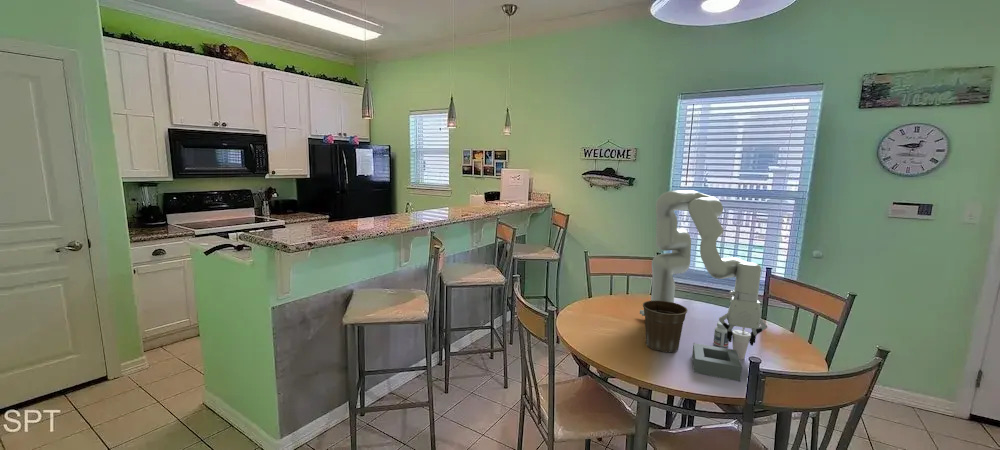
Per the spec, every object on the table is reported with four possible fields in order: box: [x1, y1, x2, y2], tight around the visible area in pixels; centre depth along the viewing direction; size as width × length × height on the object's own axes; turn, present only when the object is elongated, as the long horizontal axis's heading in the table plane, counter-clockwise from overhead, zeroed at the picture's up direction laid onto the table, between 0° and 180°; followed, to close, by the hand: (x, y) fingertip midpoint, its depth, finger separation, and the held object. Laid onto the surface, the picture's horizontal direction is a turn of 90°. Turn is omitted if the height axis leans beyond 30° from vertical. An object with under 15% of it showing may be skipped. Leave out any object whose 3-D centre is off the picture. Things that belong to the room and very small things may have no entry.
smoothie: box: [732, 327, 751, 361], centre depth 155 cm, size 6×6×14 cm
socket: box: [691, 342, 743, 382], centre depth 147 cm, size 14×14×5 cm
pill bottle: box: [713, 321, 730, 348], centre depth 166 cm, size 5×5×9 cm
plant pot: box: [642, 300, 688, 353], centre depth 163 cm, size 16×16×16 cm
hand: (740, 342), depth 155 cm, fingers closed on smoothie, 6 cm apart
